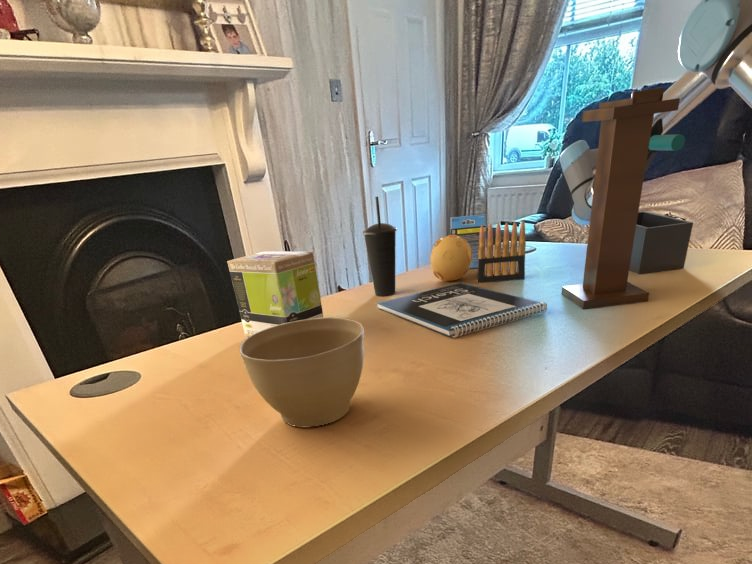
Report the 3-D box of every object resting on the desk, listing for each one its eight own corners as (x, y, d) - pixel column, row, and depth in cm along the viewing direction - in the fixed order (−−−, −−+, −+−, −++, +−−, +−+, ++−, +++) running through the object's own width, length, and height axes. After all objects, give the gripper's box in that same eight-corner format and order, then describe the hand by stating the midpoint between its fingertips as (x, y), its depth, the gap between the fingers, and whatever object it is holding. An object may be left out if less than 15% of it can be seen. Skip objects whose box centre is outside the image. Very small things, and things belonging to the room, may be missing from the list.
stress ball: (425, 280, 132) (423, 235, 126) (462, 273, 133) (462, 229, 128) (439, 287, 124) (438, 240, 118) (478, 280, 125) (478, 233, 120)
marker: (629, 150, 118) (631, 136, 117) (641, 148, 118) (643, 134, 117) (670, 151, 103) (672, 135, 102) (683, 149, 103) (686, 133, 102)
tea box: (327, 330, 106) (314, 250, 98) (290, 346, 101) (273, 262, 92) (280, 322, 115) (264, 248, 107) (243, 336, 110) (224, 259, 101)
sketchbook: (460, 288, 122) (460, 279, 121) (549, 313, 99) (550, 302, 98) (377, 308, 116) (376, 298, 114) (452, 340, 93) (452, 328, 91)
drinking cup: (397, 287, 129) (390, 193, 118) (404, 294, 123) (397, 195, 111) (367, 292, 129) (356, 198, 117) (372, 299, 122) (362, 200, 111)
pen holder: (599, 256, 131) (604, 216, 126) (638, 251, 131) (644, 211, 126) (638, 274, 114) (646, 228, 109) (683, 268, 113) (693, 222, 108)
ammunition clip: (524, 277, 123) (527, 219, 116) (524, 279, 122) (527, 220, 115) (477, 280, 125) (477, 224, 119) (477, 282, 124) (477, 225, 117)
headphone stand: (560, 293, 108) (578, 100, 90) (619, 286, 108) (648, 90, 90) (583, 310, 98) (609, 95, 80) (649, 301, 97) (689, 83, 79)
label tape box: (485, 264, 139) (486, 211, 132) (485, 268, 135) (486, 213, 128) (452, 267, 141) (450, 215, 133) (451, 270, 137) (449, 217, 130)
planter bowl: (274, 394, 81) (257, 323, 75) (377, 387, 79) (369, 312, 73) (244, 444, 69) (221, 363, 62) (366, 437, 66) (355, 352, 60)
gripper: (637, 197, 133) (691, 140, 110) (578, 204, 134) (620, 150, 110) (635, 165, 133) (689, 102, 109) (576, 173, 133) (617, 112, 110)
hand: (654, 126), depth 110 cm, fingers closed on marker, 2 cm apart
